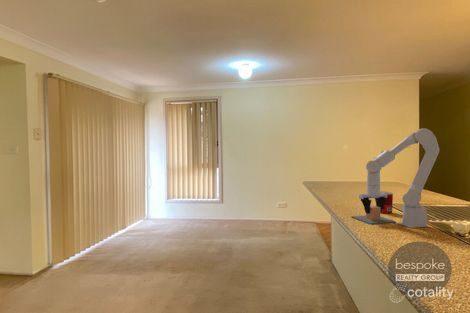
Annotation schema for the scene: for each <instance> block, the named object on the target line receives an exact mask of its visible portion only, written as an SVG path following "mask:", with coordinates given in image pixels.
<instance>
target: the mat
mask: <svg viewBox="0 0 470 313" xmlns="http://www.w3.org/2000/svg"><path fill="white" fill-rule="evenodd" d="M351 219H355V220H357V221H360V222H362V223H365V224H367V225H370V224H371V225H382V224H381V223H384V224H395V223H397V221H396V220H392V219H389V218H386V217H383V216H380V220H370V219H367V218H366V214H365V215H353V216H351Z"/></svg>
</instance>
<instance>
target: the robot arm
mask: <svg viewBox="0 0 470 313" xmlns="http://www.w3.org/2000/svg"><path fill="white" fill-rule="evenodd" d="M416 144H420V145H422V146H421V147H422V148H423V149H424V151H425V152H424V156H423V158H422V160H421V162H420V164H419V166H418V168H417V172H416V173H415V175H414V178H413V181H412V183H411V185H410V186H409V188H408V190H407V192H405V193H404V194H403V196H402V202H403V204H402V221H401V222H397V224H398V225H401V226H404V227H407V228H409V229H412V228H413V229H415V228H416V229H417V228H427V227H429V225H428V212H427V208H426V207H425V206H423V205H421V203H420V202H421V200H422V193H423V190H424V187H425V184H426V182H427V181H428V178H429V175H430V173H431V171H432V169H433V166H434V164H435V162H436V161H437V157H438V155H439V153H440V146H439V143H438V141H437V136H436V135H435V133H434V132H433V131H432V130H430V129H429V128H425V127H424V128H423V127H422V128H419V129H418V130H416V131H415V132H413V133H410V134H409V135H408V136H406V137H405V138H404V139H402V140H401V141H400V142H398V144H396V145H395V146H394V147H392V148H391V149H385V150H382V151H380V154H379V155H377V156H376V157H373V158H372V160H369V161H368V162H367V163H366V165H365V167H366V168H365V169H366V170H367V174H366V175H367V176H366V177H367V178H366V193H361V194H360V193H359V194H358V196H359V199H360V202H361V203H362V205H363V209H364V211H365V214H366V213H368V214H369V213H370V206H372V205H371V204H372V201H373V200H372V199H374V200H375V206H377V207H380V214H382V213H381V210H382V207H383V205H384V203H385V201H386V199H385V198H387V194H385V193H380V191H381V170H382V169H383V168H385V167H386V166H387V165H389V164H390V163H391V162H393V161H394V160H395V159H396V158H395V157H396V155H397V154H399V153H401V152H402V151H404V150H405V149H406V148H408V147H409V146H411V145H416Z"/></svg>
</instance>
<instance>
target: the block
mask: <svg viewBox="0 0 470 313" xmlns="http://www.w3.org/2000/svg"><path fill="white" fill-rule="evenodd" d="M365 215H366V218H367V219H370V220H380V217H381V213H380V207H377V206H376V205H370V213H369V214H368V213H365Z"/></svg>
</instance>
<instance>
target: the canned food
mask: <svg viewBox="0 0 470 313" xmlns="http://www.w3.org/2000/svg"><path fill="white" fill-rule="evenodd" d="M380 193H385V194H387V198H385V199H386V201H385V203H384V205H383V207H382V210H381V213H380V214H382V213H383V215H389V214H390V215H391V214H392V213H393V205H394V204H393V201H394V198H393V197H394V194H393V192H392V191H381V190H380Z"/></svg>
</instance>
